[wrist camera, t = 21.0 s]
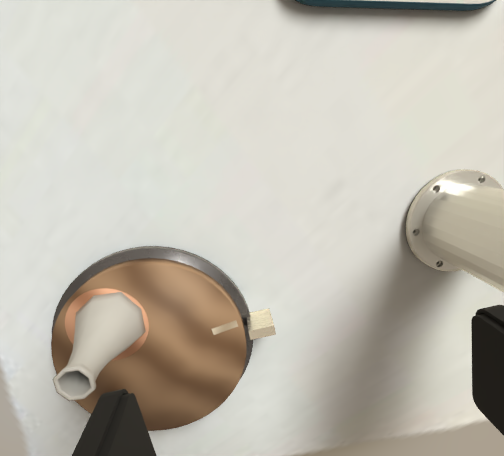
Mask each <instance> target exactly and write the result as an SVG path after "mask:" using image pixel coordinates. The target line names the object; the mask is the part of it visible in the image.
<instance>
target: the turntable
mask: <svg viewBox="0 0 504 456" xmlns="http://www.w3.org/2000/svg"><path fill="white" fill-rule="evenodd" d="M117 292H122V293H123V294H124V295H125V296H126V297H128V298H129V299H130V300H131V301H132V302H134V303H135V304H136V305H137V306H138V307H140V308H141V311H142V315H143V320H144V325H145V330H146V332H145V333H144V334H143V335H142V336H141V337H139V338H138V339H137V340H136V341H135V342H134V343H133V344H132V345H131V346H130V347H129V348H127V349H126V350H125V351H123V352H122V353H121V354H119V355H118V356H116V357H115V358H114V359H112V360H111V361H110V362H109V363H107V365H106V366H105V367H104V368H103V369H102V370H101V372H100V373H99V375H98V377H97V379H96V381H95V382H96V389H95V390H94V391H93V392H92V393H91V394H89V395H88V396H87V397H86V398H85V399H80V400H75V401H76V402H77V403H78V404H79V405H80V406H81V407H83V408H84V409H85V410H86V411H88V412H89V413H91V414H92V412H93V410H94V408H95V406H96V404H97V402H98V399H99V398H100V396H101V395H102V394H103V393H107V392H112V391H116V390H121V389H126V390H127V391H128V393H134V394H135V396H136V399H137V402H138V405H139V408H140V410H141V413H142V416H143V419H144V422H145V425H146V428H147V430H148V431H155V430H167V429H172V428H177V427H180V426H184V425H187V424H190V423H192V422H195V421H197V420H199V419H201V418H203V417H204V416H206V415H208V414H209V413H211V412H212V411H214V410H215V409H216V408H218V407H219V406H220V405H221V404H222V403H223V402H224V401H225V400H226V399H227V398H228V396H229V395H230V394H231V393H232V392H233V390H234V388H235V387H236V385H237V384H238V382H239V379H240V377H241V375H242V372H243V369H244V365H245V360H246V336H245V329H244V323H243V320H242V317H241V314H240V311H239V309H238V307H237V305H236V303H235V302H234V300H233V299H232V297H231V296H230V294H229V293H228V292H227V291H226V290H225V289H224V288H223V287H222V285H220V284H219V283H218V282H217V281H216V280H215V279H213V278H212V277H210V276H209V275H207V274H206V273H204V272H203V271H201V270H199V269H197V268H195V267H192V266H190V265H187V264H184V263H181V262H178V261H173V260H168V259H158V258H143V259H135V260H129V261H125V262H121V263H118V264H115V265H113V266H110V267H108V268H106V269H104V270H102V271H100V272H99V273H97V274H95V275H94V276H92V277H91V278H90V279H89V280H87V281H86V282H85V283H84V284H83V285H82V286H81V287H80V288H79V289H78V290H77V291H76V292H75V293H74V294H73V295H72V296H71V297H70V298H69V300H68V301H67V302H66V304H65V305H64V307H63V308H62V310H61V312H60V314H59V316H58V318H57V320H56V323H55V326H54V329H53V335H52V342H51V346H52V358H53V363H54V367H55V370H56V373H57V374H58V373H60V372H61V371H62V370H63V369H64V368H65V367H66V366H67V364H68V362H69V359H70V356H71V354H72V351H73V343H74V334H75V317H76V312H77V311H78V310H79V309H80V308H81V307H82V306H83V305H84V304H86V303H87V302H88V301H89V300H90V299H91V298H92V297H93V296H94V295H101V294H109V293H117Z"/></svg>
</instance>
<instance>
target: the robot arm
mask: <svg viewBox="0 0 504 456" xmlns="http://www.w3.org/2000/svg"><path fill="white" fill-rule="evenodd" d="M406 236H407V241H408V244H409V246H410V248H411V251H412V252H413V253H414V255H415V256H416V257H417V258H418V259H419V260H420V261H422V262H423V263H425V264H426V265H428V266H430V267H432V268H434V269H436V270H441V271H459V270H463V271H465V272H467V273H469V274H471V275H473V276H474V277H476V278H478V279H480V280H482V281H484V282H485V283H487V284H489V285H491V286H493V287H495V288H496V289H498V290H500V291H502V292H504V189H503V188H502V186H501V185H500V184H499V183H498V182H497V181H496V180H495V179H494V178H493V177H491V176H490V175H488V174H486V173H483V172H480V171H475V170H455V171H450V172H447V173H444V174H442V175H440V176H438V177H436V178H435V179H433V180H432V181H430V182H429V183H428V184H427V185H426V186H425V187H423V188H422V190H421V191H420V192H419V193H418V195H417V196H416V197H415V199H414V201H413V203H412V204H411V206H410V209H409V212H408V215H407V220H406ZM472 394H473V399H474V402H475V404H476V406H477V407H478V409H479V410H480V411H481V412H482V413H483V414H484V415H485V416H486V417H487V418H488V420H489V421H490V422H491V423H492V424H493V425H494V426H495V427H496V428H497V429H498V430H499V431H500V432H501V433H502V434H503V435H504V306H503V305H496V306H492V307H487V308H483V309H479V310H477V312H476V316H474V317H473V318H472ZM72 456H156V453H155V450H154V448H153V445H152V442H151V439H150V436H149V433H148V430H147V428H146V425H145V422H144V419H143V416H142V413H141V410H140V408H139V405H138V402H137V399H136V396H135V394H134V393H128V391H127V390H126V389H121V390H116V391H112V392H107V393H103V394H102V395H101V396H100V398H99V399H98V402H97V404H96V406H95V408H94V410H93V412H92V414H91V416H90V419H89V421H88V423H87V425H86V427H85V429H84V431H83V433H82V435H81V438H80V440H79V442H78V444H77V446H76V448H75V450H74V452H73V454H72Z"/></svg>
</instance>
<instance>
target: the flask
mask: <svg viewBox="0 0 504 456" xmlns="http://www.w3.org/2000/svg"><path fill="white" fill-rule="evenodd" d="M145 332H146V330H145V325H144V320H143V315H142V311H141V308H140V307H138V306H137V305H136V304H135V303H134V302H132V301H131V300H130V299H129V298H128V297H126V296H125V295H124V294H123V293H122V292H117V293H109V294H101V295H94V296H93V297H92V298H91V299H90V300H89V301H88V302H87V303H86V304H84V305H83V306H82V307H81V308H80V309H79V310H78V311H77V312H76V317H75V334H74V343H73V351H72V354H71V356H70V359H69V362H68V364H67V366H66V367H65V368H64V369H63V370H62V371H61V372H60V373H58V374H57V375H56V376H55V377H54V378H53V382H54V385H55V388H56V391H57V393H58V394H60V395H61V396H63V397H64V398H66V399H67V400H68V401H73V400H80V399H85V398H86V397H87V396H88V395H89V394H91V393H92V392H93V391H94V390H95V389H96V382H95V381H96V379H97V377H98V375H99V373H100V372H101V370H102V369H103V368H104V367H105V366H106V365H107V363H109V362H110V361H111V360H112V359H114V358H115V357H116V356H118V355H119V354H121V353H122V352H123V351H125V350H126V349H127V348H129V347H130V346H131V345H132V344H133V343H134V342H135V341H136V340H137V339H138V338H139V337H141V336H142V335H143V334H144V333H145Z"/></svg>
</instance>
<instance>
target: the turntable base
mask: <svg viewBox="0 0 504 456" xmlns="http://www.w3.org/2000/svg"><path fill="white" fill-rule="evenodd" d="M143 258H158V259H168V260H173V261H178V262H181V263H184V264H187V265H190V266H192V267H195V268H197V269H199V270H201V271H203V272H204V273H206V274H207V275H209V276H210V277H212V278H213V279H215V280H216V281H217V282H218V283H219V284H220V285H222V287H223V288H224V289H225V290H226V291H227V292H228V293H229V294H230V296H231V297H232V299H233V300H234V302H235V303H236V305H237V307H238V309H239V311H240V314H241V317H242V320H243V323H244V329H245V336H246V360H245V365H244V369H243V372H242V375H243V374H244V372H245V370H246V367H247V365H248V363H249V359H250V356H251V352H252V346H253V339H257V338H262V337H266V336H271V335H275V334H276V333H275V328H274V324H273V320H272V317H271V313H270V309H264V310H259V311H255V312H249V309H248V306H247V304H246V301H245V299H244V297H243V295H242V294H241V292H240V291H239V289H238V287H237V286H236V285H235V284H234V282H233V281H232V280H231V279H230V278H229V277H228V276H227V275H226V274H225V273H224V272H223V271H222V270H221V269H219V268H218V267H217V266H215V265H214V264H212V263H211V262H209V261H207V260H205V259H203V258H201V257H199V256H197V255H195V254H192V253H189V252H187V251H184V250H179V249H175V248H170V247H160V246H143V247H136V248H130V249H126V250H122V251H119V252H116V253H113V254H111V255H108V256H106V257H104V258H102V259H100V260H99V261H97V262H95V263H94V264H92V265H91V266H89V267H88V268H87V269H86V270H84V271H83V272H82V273H81V274H80V275H79V276H78V277H77V278H76V279H75V280H74V281H73V282H72V283H71V284H70V286H69V287H68V288H67V290H66V291H65V293H64V294H63V296H62V298H61V300H60V302H59V304H58V306H57V309H56V312H55V315H54V320H53V327H52V335H53V329H54V326H55V323H56V320H57V318H58V316H59V314H60V312H61V310H62V308H63V307H64V305H65V304H66V302H67V301H68V300H69V298H70V297H71V296H72V295H73V294H74V293H75V292H76V291H77V290H78V289H79V288H80V287H81V286H82V285H83V284H84V283H85V282H86V281H87V280H89V279H90V278H91V277H92V276H94V275H95V274H97V273H99V272H100V271H102V270H104V269H106V268H108V267H110V266H113V265H115V264H118V263H121V262H125V261H129V260H135V259H143ZM242 375H241V377H242ZM241 377H240V378H241ZM239 380H240V379H239Z"/></svg>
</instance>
